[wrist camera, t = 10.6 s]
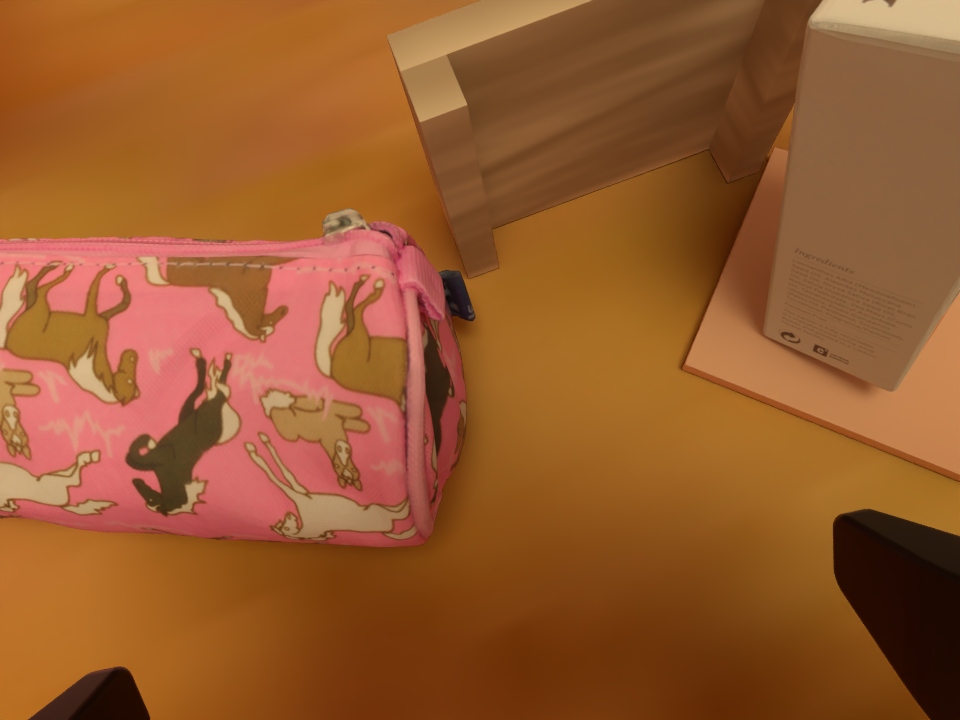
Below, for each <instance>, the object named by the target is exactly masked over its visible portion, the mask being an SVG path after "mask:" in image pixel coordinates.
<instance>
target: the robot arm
mask: <svg viewBox="0 0 960 720" xmlns="http://www.w3.org/2000/svg"><path fill="white" fill-rule="evenodd" d="M833 560H834V574H835V578H836V581H837V583H838V585H839V587H840V589H841V591H842V593H843V594H844V596H845V597H846V599H847V600H848V602H849V603H850V604H851V606H852V607H853V609H854V610H855V612H856V613H857V615H858V616H859V618H860V619H861V621H862V622H863V624H864V625H865V627H866V628H867V630H868V631H869V633H870V634H871V636H872V637H873V639H874V640H875V642H876V643H877V645H878V646H879V648H880V649H881V651H882V652H883V654H884V655H885V657H886V658H887V660H888V661H889V663H890V664H891V666H892V667H893V668H894V670H895V671H896V673H897V674H898V676H899V677H900V679H901V680H902V682H903V683H904V685H905V686H906V688H907V689H908V690H909V692H910V693H911V695H912V696H913V697H914V699H915V700H916V701H917V703H918V704H919V705H920V707H921V708H922V709H923V710H924V712H925V713H926V714H927V716H928V717H929V718H930V719H931V720H960V536H957V535H954V534H951V533H948V532H944V531H941V530H938V529H934V528H931V527H928V526H925V525H921V524H918V523H915V522H911V521H908V520H905V519H902V518H898V517H895V516H892V515H888V514H885V513H882V512H878V511H875V510H871V509H863V510H858V511H853V512H849V513H844V514H840V515H838V516H837V517H836V518H835V520H834V523H833ZM28 720H150V716H149V713H148V711H147V708H146V706H145V704H144V702H143V699H142V697H141V695H140V692H139V690H138V688H137V685H136V683H135V681H134V679H133V676H132V674H131V673H130V671H129V670H128V669H126V668H124V667H114V668H109V669H104V670H99V671H95V672H91V673H89V674H87V675H85V676H84V677H83V678H81V679H80V680H79V681H77V682H76V683H75V684H74V685H72V686H71V687H70V688H68V689H67V690H66V691H65V692H63V693H62V694H61V695H59V696H58V697H57V698H55V699H54V700H53V701H52V702H50V703H49V704H48V705H46V706H45V707H44V708H43V709H41V710H40V711H39V712H37V713H36V714H35V715H34V716H32V717H31V718H30V719H28Z"/></svg>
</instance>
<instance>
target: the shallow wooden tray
mask: <svg viewBox="0 0 960 720" xmlns="http://www.w3.org/2000/svg"><path fill="white" fill-rule="evenodd" d="M821 2H822V0H481V1H478V2H475V3H473V4H470V5H467V6H465V7H462V8H459V9H457V10H454V11H451V12H448V13H446V14H443V15H440V16H438V17H435V18H432V19H430V20H427V21H424V22H422V23H419V24H416V25H414V26H411V27H408V28H405V29H403V30H400V31H397V32H395V33H392V34H389V35H387V39H388V42H389V45H390V48H391V51H392V54H393V57H394V60H395V63H396V66H397V69H398V72H399V76H400V79H401V82H402V85H403V88H404V91H405V94H406V97H407V100H408V103H409V106H410V109H411V112H412V115H413V119H414V122H415V125H416V128H417V131H418V134H419V137H420V140H421V143H422V146H423V149H424V152H425V155H426V158H427V162H428V165H429V168H430V171H431V174H432V177H433V180H434V183H435V186H436V189H437V192H438V195H439V198H440V201H441V205H442V208H443V211H444V214H445V217H446V219H447V222H448V225H449V227H450V230H451V233H452V235H453V238H454V241H455V243H456V246H457V249H458V251H459V254H460V257H461V259H462V262H463V265H464V267H465V270H466V273H467V275H468V278H469V279H470V278H472V277H475V276H478V275H480V274H483V273H486V272H489V271H491V270H494V269H497V268H499V264H498V259H497V254H496V248H495V243H494V238H493V233H492V229H494V228H496V227H499V226H502V225H505V224H507V223H510V222H513V221H515V220H518V219H521V218H524V217H526V216H529V215H532V214H534V213H537V212H540V211H542V210H545V209H548V208H551V207H553V206H556V205H559V204H561V203H564V202H567V201H570V200H572V199H575V198H578V197H580V196H583V195H586V194H588V193H591V192H594V191H597V190H599V189H602V188H605V187H607V186H610V185H613V184H616V183H618V182H621V181H624V180H626V179H629V178H632V177H634V176H637V175H640V174H643V173H645V172H648V171H651V170H653V169H656V168H659V167H662V166H664V165H667V164H670V163H672V162H675V161H678V160H680V159H683V158H686V157H689V156H691V155H694V154H697V153H699V152H702V151H705V150H708V149H709V151H710V152H711V154H712V156H713V158H714V160H715V161H716V163H717V165H718V167H719V169H720V170H721V172H722V174H723V176H724V178H725V179H726V181H727V183H730V182H732V181H735V180H738V179H740V178H743V177H746V176H749V175H751V174H754V173H757V172H758V171H759V169H760V167H761V166H762V164H763V162H764V160H765V158H766V156H767V154H768V152H769V151H770V149H771V147H772V145H773V143H774V141H775V139H776V137H777V135H778V134H779V132H780V130H781V128H782V126H783V124H784V122H785V120H786V118H787V117H788V115H789V113H790V111H791V109H792V107H793V105H794V103H795V97H796V89H797V82H798V75H799V69H800V62H801V56H802V51H803V45H804V38H805V32H806V26H807V23H808V21H809V18H810V17H811V15H812V14H813V13H814V11H815V10H816V8H817V7H818V6H819V4H820V3H821Z"/></svg>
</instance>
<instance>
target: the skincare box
mask: <svg viewBox="0 0 960 720" xmlns="http://www.w3.org/2000/svg"><path fill="white" fill-rule="evenodd" d="M959 293H960V0H822V2H821V3H820V4H819V6H818V7H817V8H816V10H815V11H814V13H813V14H812V15H811V17H810V18H809V21H808V23H807V26H806V32H805V38H804V45H803V51H802V56H801V62H800V69H799V75H798V82H797V89H796V97H795V105H794V113H793V121H792V129H791V136H790V144H789V151H788V157H787V164H786V171H785V179H784V184H783V193H782V201H781V208H780V215H779V223H778V230H777V237H776V243H775V251H774V258H773V263H772V270H771V278H770V285H769V291H768V299H767V306H766V314H765V321H764V328H763V334H764V335H766V336H767V337H769V338H771V339H774V340H776V341H778V342H780V343H782V344H785V345H787V346H789V347H791V348H793V349H796V350H798V351H800V352H802V353H805V354H807V355H809V356H812V357H814V358H816V359H818V360H820V361H822V362H825V363H827V364H829V365H831V366H833V367H836V368H838V369H840V370H842V371H845V372H847V373H849V374H851V375H853V376H855V377H857V378H860V379H862V380H864V381H866V382H868V383H870V384H873V385H875V386H877V387H879V388H881V389H884V390H886V391H889V392H893V391H895V390H896V389H898V387H899V385H900V384H901V382H902V380H903V379H904V377H905V376H906V374H907V373H908V371H909V370H910V368H911V367H912V365H913V363H914V362H915V360H916V359H917V357H918V356H919V354H920V353H921V351H922V350H923V348H924V347H925V345H926V343H927V342H928V340H929V339H930V337H931V336H932V334H933V333H934V331H935V330H936V328H937V327H938V325H939V323H940V322H941V320H942V319H943V317H944V316H945V314H946V313H947V311H948V310H949V308H950V306H951V305H952V303H953V302H954V300H955V299H956V297H957V296H958V294H959Z"/></svg>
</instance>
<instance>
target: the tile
mask: <svg viewBox="0 0 960 720" xmlns="http://www.w3.org/2000/svg"><path fill="white" fill-rule="evenodd" d="M787 157H788V151H787V150H784V149H780V148H777V147H774V149H773V151H772V153H771V155H770V157H769V159H768V162H767V164H766V166H765V169H764V171H763V174H762V176H761V178H760V181H759V183H758V186H757V188H756V191H755V193H754V195H753V198H752V200H751V203H750V205H749V207H748V210H747V212H746V215H745V217H744V220H743V222H742V224H741V227H740V229H739V232H738V234H737V236H736V239H735V241H734V244H733V246H732V248H731V251H730V253H729V256H728V258H727V261H726V263H725V265H724V268H723V270H722V273H721V275H720V277H719V280H718V282H717V285H716V287H715V289H714V292H713V294H712V297H711V299H710V302H709V304H708V306H707V309H706V311H705V314H704V316H703V318H702V321H701V323H700V326H699V328H698V331H697V333H696V335H695V338H694V340H693V343H692V345H691V347H690V350H689V352H688V355H687V357H686V359H685V362H684V364H683V367H682V370H685V371H687V372H690V373H692V374H694V375H697V376H699V377H702V378H704V379H707V380H709V381H712V382H714V383H717V384H719V385H722V386H724V387H727V388H729V389H732V390H734V391H737V392H739V393H742V394H744V395H746V396H749V397H751V398H754V399H756V400H759V401H761V402H764V403H766V404H769V405H771V406H774V407H776V408H779V409H781V410H784V411H786V412H789V413H791V414H794V415H796V416H799V417H801V418H803V419H806V420H808V421H811V422H813V423H816V424H818V425H821V426H823V427H826V428H828V429H831V430H833V431H836V432H838V433H841V434H843V435H846V436H848V437H851V438H853V439H855V440H858V441H860V442H863V443H865V444H868V445H870V446H873V447H875V448H878V449H880V450H883V451H885V452H888V453H890V454H893V455H895V456H898V457H900V458H903V459H905V460H907V461H910V462H912V463H915V464H917V465H920V466H922V467H925V468H927V469H930V470H932V471H935V472H937V473H940V474H942V475H945V476H947V477H950V478H952V479H955V480H957V481H959V482H960V293H959V294H958V296H957V297H956V299H955V300H954V302H953V303H952V305H951V306H950V308H949V310H948V311H947V313H946V314H945V316H944V317H943V319H942V320H941V322H940V323H939V325H938V327H937V328H936V330H935V331H934V333H933V334H932V336H931V337H930V339H929V340H928V342H927V343H926V345H925V347H924V348H923V350H922V351H921V353H920V354H919V356H918V357H917V359H916V360H915V362H914V363H913V365H912V367H911V368H910V370H909V371H908V373H907V374H906V376H905V377H904V379H903V380H902V382H901V384H900V385H899V387H898V389H896V390H895V391H893V392H889V391H886V390H884V389H881V388H879V387H877V386H875V385H873V384H870V383H868V382H866V381H864V380H862V379H860V378H857V377H855V376H853V375H851V374H849V373H847V372H845V371H842V370H840V369H838V368H836V367H833V366H831V365H829V364H827V363H825V362H822V361H820V360H818V359H816V358H814V357H812V356H809V355H807V354H805V353H802V352H800V351H798V350H796V349H793V348H791V347H789V346H787V345H785V344H782V343H780V342H778V341H776V340H774V339H771V338H769V337H767V336H766V335H764V334H763V328H764V321H765V314H766V306H767V299H768V291H769V285H770V278H771V270H772V263H773V258H774V251H775V243H776V237H777V230H778V223H779V215H780V208H781V201H782V193H783V184H784V179H785V171H786V164H787Z"/></svg>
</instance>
